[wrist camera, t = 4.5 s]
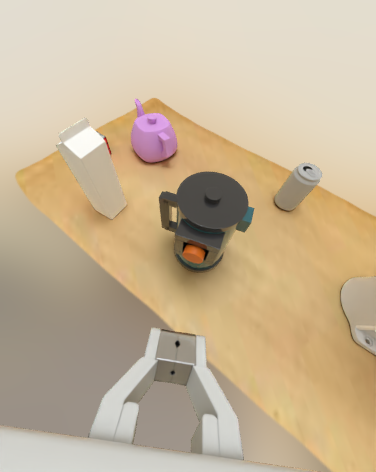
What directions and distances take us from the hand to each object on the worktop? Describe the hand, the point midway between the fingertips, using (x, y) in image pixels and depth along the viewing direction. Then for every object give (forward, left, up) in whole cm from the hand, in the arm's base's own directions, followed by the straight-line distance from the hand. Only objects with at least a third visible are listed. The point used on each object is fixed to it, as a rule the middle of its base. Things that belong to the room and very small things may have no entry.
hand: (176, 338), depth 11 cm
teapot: (+46, -31, -30) cm, 63 cm away
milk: (+35, -8, -30) cm, 47 cm away
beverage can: (+5, -46, -30) cm, 55 cm away
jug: (+11, -16, -30) cm, 36 cm away
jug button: (+7, -10, -18) cm, 21 cm away
